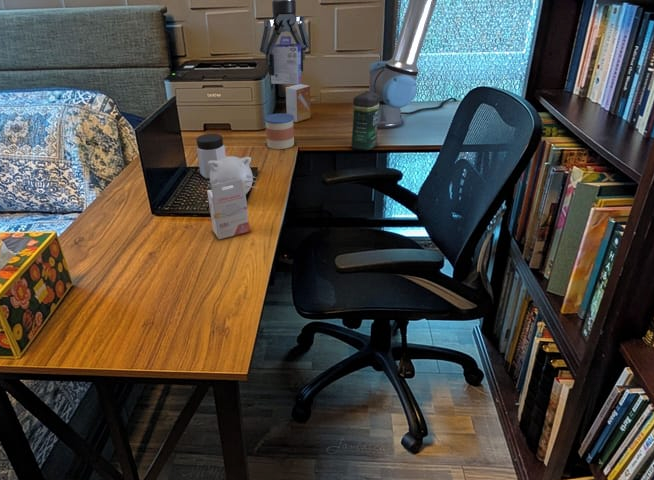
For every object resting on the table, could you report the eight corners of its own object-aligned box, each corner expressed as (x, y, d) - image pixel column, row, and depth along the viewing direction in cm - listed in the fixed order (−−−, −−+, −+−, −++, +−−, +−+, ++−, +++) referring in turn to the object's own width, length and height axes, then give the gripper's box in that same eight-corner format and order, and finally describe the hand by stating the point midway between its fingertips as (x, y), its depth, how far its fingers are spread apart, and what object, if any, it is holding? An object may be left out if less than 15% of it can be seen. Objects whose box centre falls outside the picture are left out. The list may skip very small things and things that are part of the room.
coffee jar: (369, 152, 171) (372, 97, 161) (348, 149, 175) (349, 95, 165) (380, 144, 178) (383, 90, 168) (359, 141, 182) (361, 88, 171)
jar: (229, 168, 165) (225, 132, 158) (226, 178, 158) (222, 141, 151) (202, 169, 165) (197, 133, 159) (198, 179, 158) (192, 142, 152)
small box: (297, 122, 203) (296, 89, 196) (286, 119, 207) (285, 87, 200) (311, 117, 208) (310, 85, 201) (300, 115, 212) (299, 83, 205)
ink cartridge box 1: (243, 224, 132) (238, 171, 124) (250, 232, 128) (244, 178, 120) (212, 231, 129) (204, 178, 121) (218, 240, 125) (210, 185, 117)
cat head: (256, 185, 152) (252, 146, 146) (261, 203, 141) (258, 162, 135) (206, 191, 150) (201, 152, 144) (208, 209, 140) (202, 168, 133)
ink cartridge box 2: (302, 81, 174) (301, 35, 166) (299, 84, 169) (298, 38, 162) (274, 80, 176) (272, 35, 168) (270, 84, 171) (268, 38, 163)
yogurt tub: (286, 137, 188) (285, 111, 183) (300, 145, 180) (299, 118, 175) (261, 143, 184) (259, 116, 179) (274, 151, 177) (273, 123, 171)
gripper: (309, -4, 166) (309, 66, 178) (246, 1, 157) (251, 75, 169) (320, -3, 160) (320, 70, 172) (256, 3, 151) (260, 79, 164)
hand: (286, 72), depth 171 cm, fingers closed on ink cartridge box 2, 10 cm apart
